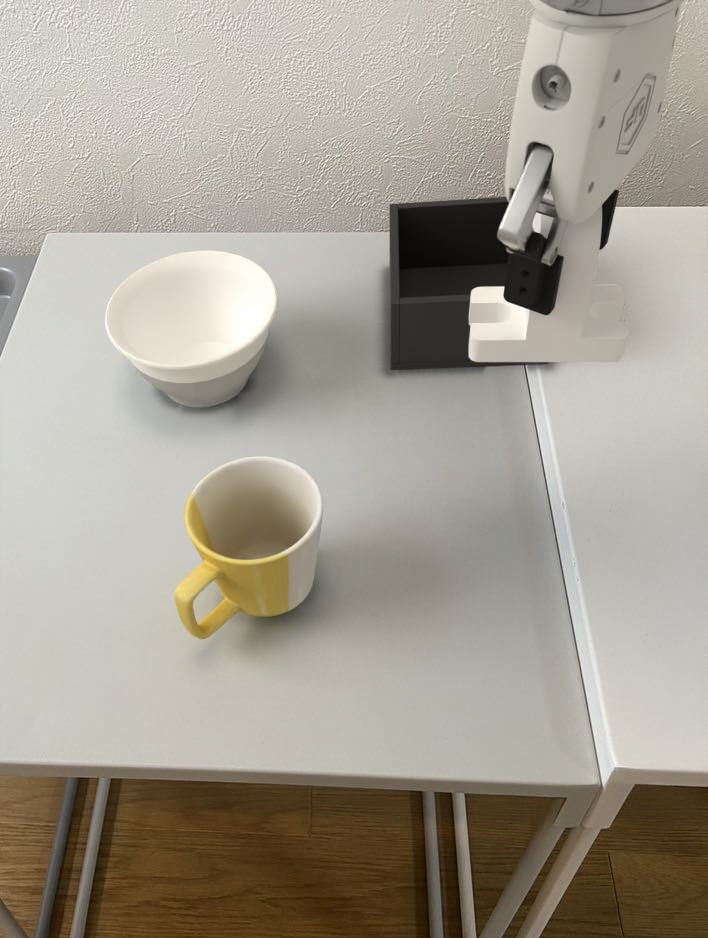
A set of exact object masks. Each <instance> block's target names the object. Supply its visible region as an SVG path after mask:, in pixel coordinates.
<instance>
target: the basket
mask: <svg viewBox="0 0 708 938" xmlns="http://www.w3.org/2000/svg"><path fill="white" fill-rule="evenodd" d="M508 205H509V202H508V200H507V198H506V196H497V197H496V196H495V197H480V198H479V197H477V198H462V199H448V200H446V199H445V200H431V201H416V202H415V201H414V202H402V203H401V202H400V203H389V259H388V260H389V263H388V264H389V339H390V340H389V344H390V345H389V346H390V347H389V348H390V349H389V350H390V355H389V356H390V357H389V358H390V360H389V361H390V370H415V369H416V370H417V369H441V368H442V369H443V368H467V367H469V368H470V367H494V366H495V367H496V366H520V365H521V366H522V365H543V364H544V365H546V364H549V362H475V361H472V360H471V359H470V358H469V336H470V326H471V325H469V308H470V298H471V291H472V290H473V289H474V288H476V287H501V286H505V278H506V270H507V263H508V255H509V252H507V251H506V247H505V244H503V243H502V242H501V241H500V240H499V239H498V238H497V232H498V229H499V226H500V224H501V221H502V219H503V217H504V214H505V212H506V210H507V207H508Z"/></svg>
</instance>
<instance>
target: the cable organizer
mask: <svg viewBox="0 0 708 938" xmlns="http://www.w3.org/2000/svg"><path fill="white" fill-rule="evenodd" d="M543 198H546V199H549V200H553V197H552V193H545V194H544V196H543ZM552 221H553V217H549V216H546V215H543V214H540V213H537V212H536V214H535V217H534V220H533V224H532V227H533V229H534V231H535V232H537V233H541V234H542V235H543V236H544V237H545V238H546V239H547V237H548V234H549V231H550V228H551V225H552ZM601 228H602V205H601V206H600V207H599V209H598V210H597V211H596V212H595V213H594V214H593V215H592V216H590V217H589V218H588V219H586V220H585V221H583V222H581V223H578V224H572V223H570V221H569V222H568V225H567V228H566V231H565V234H564V237H563V240H562V243H561V246H560V249H559V252H558V254H559V255H560V256H563V257H564V260H563V265H562V270H561V276H560V281H559V287H558V292H557V298H556V303H555V308H554V309H553V311H552V312H551V313H550V314H549V315H543V314H540V313H537V312H534V311H531V310H529V309H526V308H523V307H520V306H517V305H515V304H512V303H509V302H507V301H506V300H505V299H504V297H503V294H504V286H501V287H476V288H474V289H473V290H472V291H471V298H470V308H469V325H471V326H470V336H469V358H470V359H471V360H472V361H475V362H548V363H617V362H620V361H621V360H622V359H623V357H624V354H625V350H626V346H627V342H628V340H629V335H630V325H629V321H628V320H621V319H622V316H623V311H624V307H625V304H626V293H625V288H624V287H623V286H621V285H620V284H617V283H594V279H595V276H596V270H597V266H598V261H599V256H600V255H599V254H600V250H599V248H600V240H601Z"/></svg>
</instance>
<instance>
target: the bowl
mask: <svg viewBox="0 0 708 938" xmlns="http://www.w3.org/2000/svg"><path fill="white" fill-rule="evenodd" d="M278 305H279V296H278V290H277V287H276V285H275V283H274V280H273V278H272V276H271V275H270V274H269V273H268V272H267V270H265V268H264V267H263V266H261V265H259V264H258V263H256V262H255V261H254V260H253V259H250V258H247V257H245V256H243V255H240V254H236V253H232V252H228V251H222V250H214V249H213V250H212V249H211V250H210V249H208V250H207V249H205V250H192V251H184V252H178V253H175V254H172V255H168V256H164V257H162V258H159V259H157V260H155V261H154V260H153V261H152V262H149V263H148V264H146V265H144V266H142V267H141V268H139V269H136V271H135V272H133V273H132V274H131V275H129V276H128V277H127V278H126V279H124V280H123V281H122V282H121V284H120V285H118V287H117V288H116V289H115V290H114V292H113V293H112V295H111V298H110V299H109V300H108V303H107V307H106V310H105V315H104V316H105V318H104V326H105V331H106V333H107V337H108V339H109V340H110V342H111V343H112V346H114V348H115V349H117V350H118V351H119V353H121V354H122V355H123V356H124V357H126V358H128V360H129V361H130V363H131V365H133V366H134V368H135V370H136V371H137V373H138V374H139V376H141V377H142V378H143V379H145V380H146V382H148V383H149V384H151V385H152V387H154V388H155V389H157V390H159V391H161V392H162V393H165V394H166V395H167V397H169V398H170V399H171V400H172V401H174V402H176V403H177V404H179V405H182V406H185V407H190V408H211V407H214V406H218V405H221V404H224V403H225V402H227V401H228V402H229V401H230V400H232V399H234V398H235V397H236V396H237V395H238V394H239V393H241V392H242V390H243V389H244V387H245V386H246V385H247V383H248V381H249V378H250V376H251V374H252V373H253V371H254V370H255V368H256V367H257V366H258V363H259V361H260V359H261V358H262V356H263V353H264V350H265V348H266V345H267V344H266V343H267V338H268V335H269V330H270V326H271V325H272V323H273V321H274V319H275V317H276V314H277V311H278Z"/></svg>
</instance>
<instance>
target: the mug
mask: <svg viewBox="0 0 708 938" xmlns="http://www.w3.org/2000/svg"><path fill="white" fill-rule="evenodd" d="M323 516H324V497H323V493H322V490H321V488H320V486H319V483H318V482H317V480H316V479H315V478H314V477H313V476H312V474H310V472H308V471H307V470H306V469H304V467H302V466H300V465H298V464H296V463H295V462H292V461H289V460H286V459H283V458H279V457H274V456H266V455H265V456H264V455H258V456H257V455H255V456H247V457H246V456H245V457H242V458H238V459H233V460H231V461H229V462H227V463H225V464H222V465H220V466H218V467H216V468H214V469H213V470H212V471H211V472H209V473H208V474H206V475H204V477H203V478H201V480H199V481H198V483H197V484H196V485H195V487H194V488H193V490H192V491H191V493H190V494H189V497H188V498H187V501H186V504H185V508H184V522H185V523H184V525H185V526H184V527H185V529H186V532H187V535H188V537H189V538H190V541H191V542H192V544H193V546H194V548H195V549H196V551H197V553H198V555H199V556H200V558H201V560H202V562H201V563H200V564H198V566H196V568H195V569H194V570H192V571H191V572H190V573H189V574H188V575H187V576H186V577H185V578H184V579H183V580H182V581H181V582H179V584H177V586H176V587H175V590H174V593H173V594H174V597H173V598H174V602H175V607H176V610H177V614H178V617H179V619H180V621H181V623H182V625H183V626H184V628H185V629H186V631H187V632H188V633H189V634H190V635H191V636H193V637H194V638H196V639H199V640H206V639H208V638H210V637H211V636H213V635H214V634H215V633H216V632H217V631H219V630H220V629H221V628H222V627H223V626H224V625H225V624H226V623H228V621H229V620H231V619H232V618H233V617H234V616H235V615H236V614H238V613H242V614H246V615H248V616H253V617H261V618H263V617H264V618H265V617H275V616H279V615H282V614H285V613H288V612H290V611H291V610H293V609H295V608H296V607H298V606H299V605H300V604H301V603H302V602H304V600H305V599H306V598H307V597H308V596H309V594H310V592H311V590H312V587H313V584H314V581H315V575H316V566H317V559H318V552H319V547H320V546H319V545H320V538H321V532H322V524H323ZM212 582H215V584H216V586H217V587H218V589H219V591H220V593H221V594H222V597H223V599H222V600H221V602H220V603H218V605H217V606H216V607H215V608H213V609H212V610H211V611H210V612H209V613H208V614H207V615H205V617H204V618H202V619H201V620H200V621H199V622H198V621H197V619H196V615H195V611H194V601H195V600H196V598H197V597H198V596H199V595H200V593H202V592H203V591H204V590H205V589H206V588H207V587H208V586H209V585H210V584H212Z"/></svg>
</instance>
